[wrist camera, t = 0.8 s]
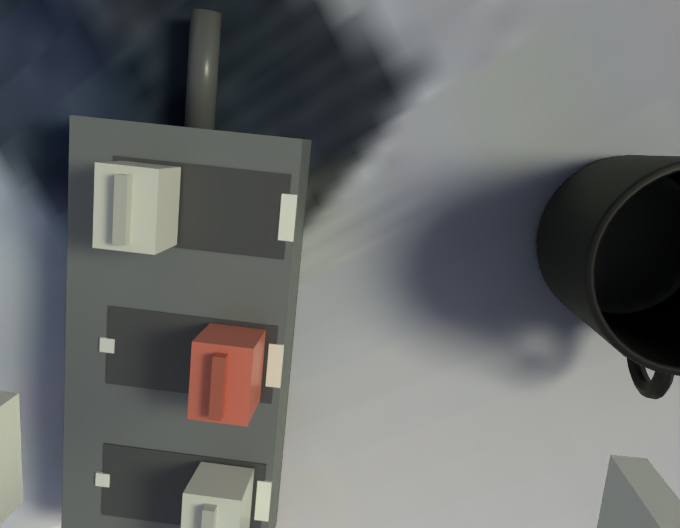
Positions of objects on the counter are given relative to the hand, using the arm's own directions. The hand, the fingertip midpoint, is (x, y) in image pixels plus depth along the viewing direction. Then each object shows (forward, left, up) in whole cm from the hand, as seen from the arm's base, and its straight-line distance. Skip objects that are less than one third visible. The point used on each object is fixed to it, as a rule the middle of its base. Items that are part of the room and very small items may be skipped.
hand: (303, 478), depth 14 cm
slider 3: (+13, -6, -19) cm, 23 cm away
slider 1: (-3, -11, -19) cm, 22 cm away
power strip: (+2, -9, -23) cm, 25 cm away
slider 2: (+5, -6, -19) cm, 20 cm away
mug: (-2, +15, -23) cm, 28 cm away
